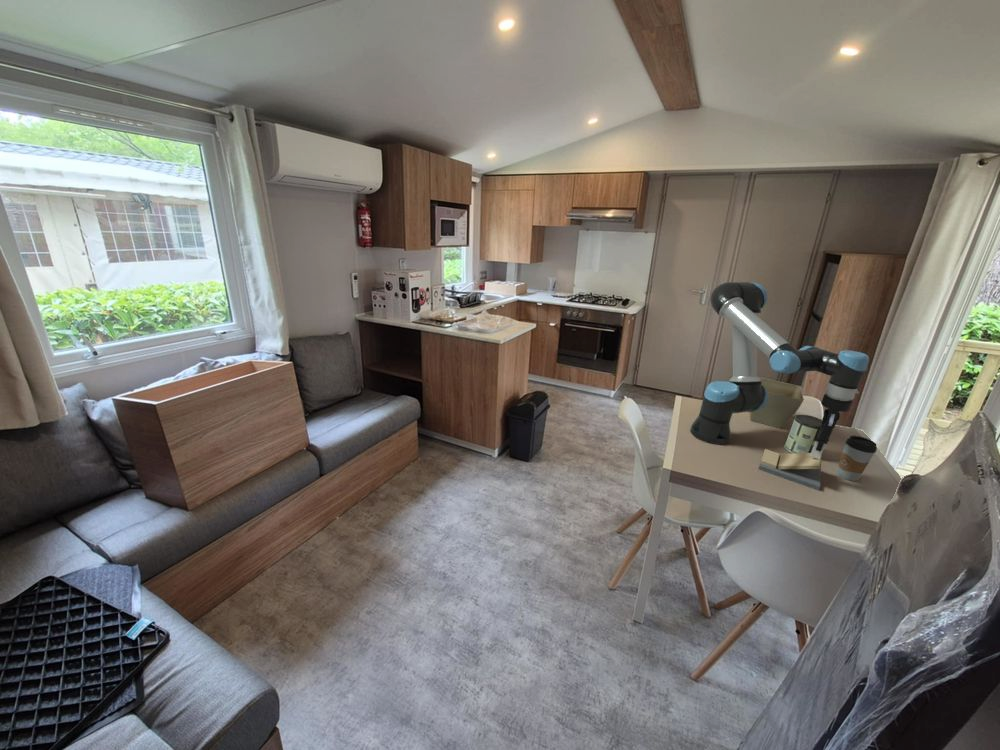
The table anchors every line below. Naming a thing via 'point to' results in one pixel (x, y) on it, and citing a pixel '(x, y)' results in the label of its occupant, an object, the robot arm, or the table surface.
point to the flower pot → (778, 403)
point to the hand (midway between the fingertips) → (815, 456)
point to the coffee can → (803, 434)
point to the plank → (799, 461)
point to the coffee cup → (855, 457)
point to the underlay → (790, 471)
